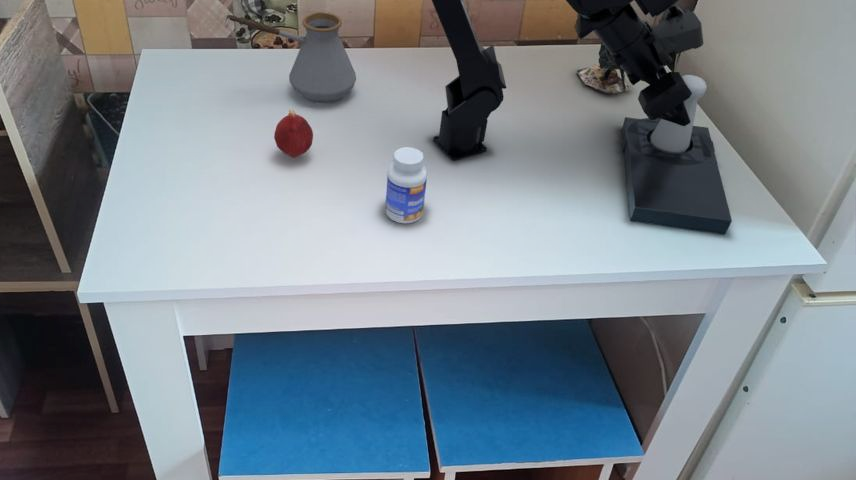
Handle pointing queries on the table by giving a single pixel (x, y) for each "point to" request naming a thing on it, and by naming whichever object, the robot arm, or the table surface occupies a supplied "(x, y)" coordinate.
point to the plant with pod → (604, 74)
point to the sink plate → (673, 180)
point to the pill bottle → (406, 186)
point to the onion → (293, 135)
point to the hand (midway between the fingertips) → (678, 107)
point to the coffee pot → (316, 58)
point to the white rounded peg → (674, 135)
